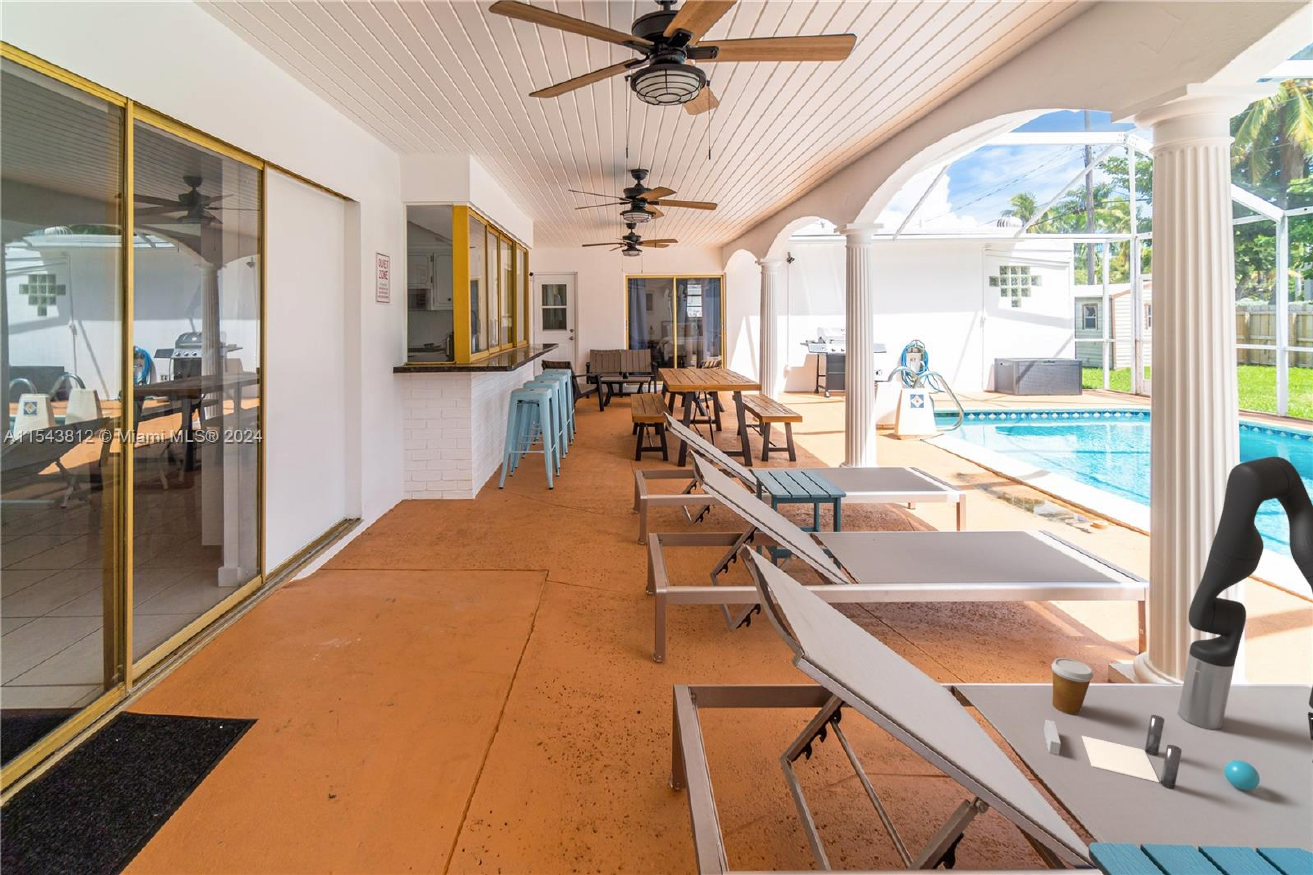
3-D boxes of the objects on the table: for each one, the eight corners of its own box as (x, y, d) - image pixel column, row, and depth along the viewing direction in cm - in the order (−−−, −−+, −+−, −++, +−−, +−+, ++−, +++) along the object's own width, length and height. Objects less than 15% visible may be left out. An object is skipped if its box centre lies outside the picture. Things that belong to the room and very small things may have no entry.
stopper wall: (1043, 730, 173) (1045, 719, 172) (1052, 732, 172) (1054, 721, 171) (1049, 752, 164) (1051, 741, 163) (1058, 755, 163) (1060, 743, 162)
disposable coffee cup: (1093, 720, 178) (1100, 677, 176) (1053, 714, 180) (1059, 672, 178) (1078, 701, 188) (1085, 659, 186) (1040, 695, 189) (1046, 655, 187)
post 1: (1143, 747, 167) (1149, 713, 166) (1156, 750, 166) (1162, 716, 165) (1146, 754, 165) (1152, 719, 163) (1159, 756, 164) (1165, 722, 162)
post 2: (1158, 780, 155) (1165, 743, 154) (1172, 783, 154) (1179, 746, 153) (1162, 787, 153) (1169, 750, 151) (1176, 790, 152) (1183, 753, 150)
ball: (1217, 775, 158) (1222, 751, 157) (1250, 783, 156) (1255, 759, 155) (1227, 791, 152) (1232, 766, 151) (1261, 799, 150) (1267, 774, 149)
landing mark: (1081, 736, 171) (1081, 735, 171) (1144, 750, 166) (1144, 750, 166) (1091, 766, 159) (1092, 765, 159) (1159, 783, 154) (1159, 782, 154)
